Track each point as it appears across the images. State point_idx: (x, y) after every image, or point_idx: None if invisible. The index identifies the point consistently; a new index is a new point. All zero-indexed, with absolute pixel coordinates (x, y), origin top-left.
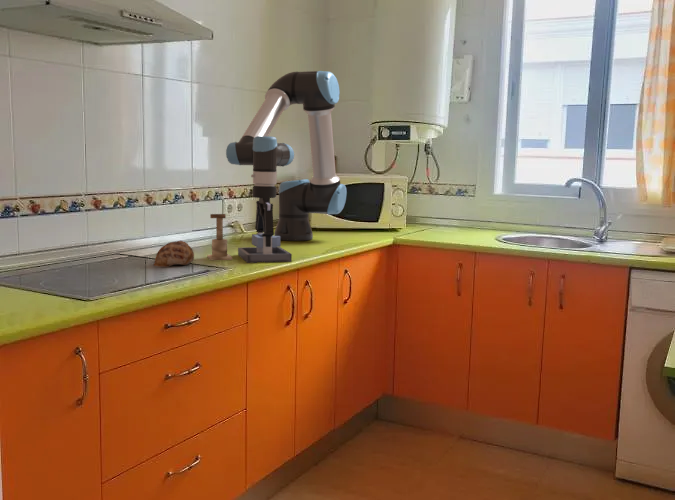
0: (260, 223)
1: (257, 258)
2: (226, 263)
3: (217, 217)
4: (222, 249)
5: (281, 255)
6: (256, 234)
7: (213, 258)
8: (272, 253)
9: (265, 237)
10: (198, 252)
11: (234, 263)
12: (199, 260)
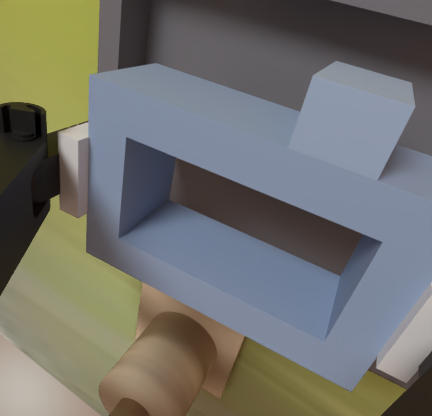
0: (3, 259)
1: None
2: (347, 411)
3: None
4: (199, 385)
5: None
6: (104, 230)
7: (224, 386)
8: (177, 18)
9: (419, 361)
10: (30, 288)
11: (372, 393)
12: (210, 409)
